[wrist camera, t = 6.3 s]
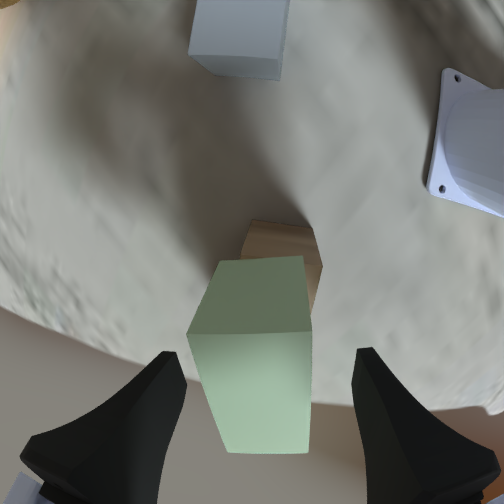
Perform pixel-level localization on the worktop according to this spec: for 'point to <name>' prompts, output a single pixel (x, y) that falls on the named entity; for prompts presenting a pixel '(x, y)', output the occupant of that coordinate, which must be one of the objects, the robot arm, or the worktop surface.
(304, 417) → the green brick
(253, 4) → the slate brick
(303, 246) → the walnut brick
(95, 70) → the worktop surface
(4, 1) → the potato
